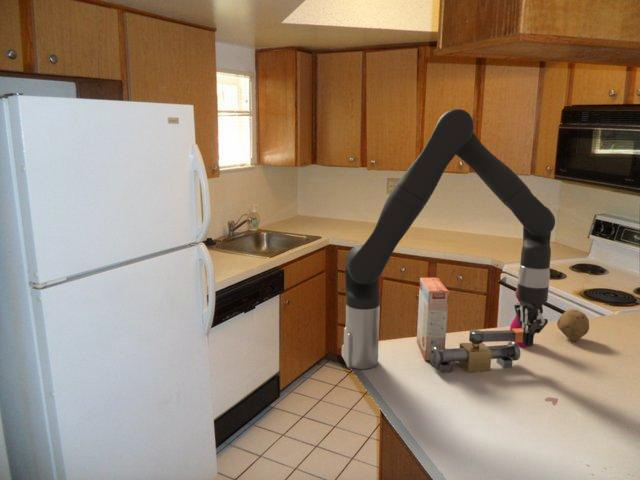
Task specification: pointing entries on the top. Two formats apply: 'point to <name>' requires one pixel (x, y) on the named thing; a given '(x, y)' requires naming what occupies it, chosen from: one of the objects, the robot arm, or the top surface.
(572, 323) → the brown rounded lump
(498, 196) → the robot arm
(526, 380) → the top surface
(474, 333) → the lever
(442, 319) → the cracker box
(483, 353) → the valve pipe
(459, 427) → the top surface
